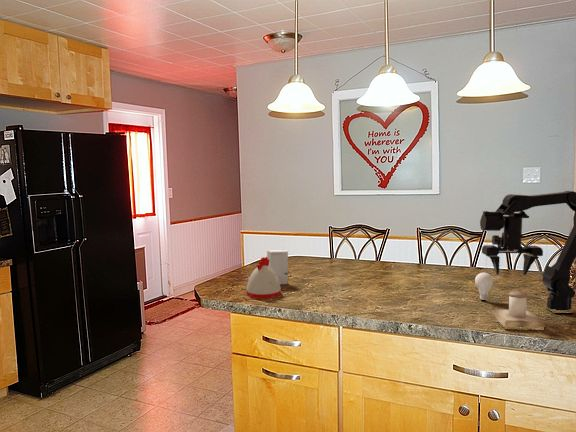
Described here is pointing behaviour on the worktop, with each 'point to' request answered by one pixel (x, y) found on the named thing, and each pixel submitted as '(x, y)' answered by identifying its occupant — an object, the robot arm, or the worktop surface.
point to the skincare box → (279, 264)
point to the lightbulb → (483, 284)
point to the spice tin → (517, 304)
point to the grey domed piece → (263, 281)
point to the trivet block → (517, 319)
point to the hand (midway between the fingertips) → (510, 274)
